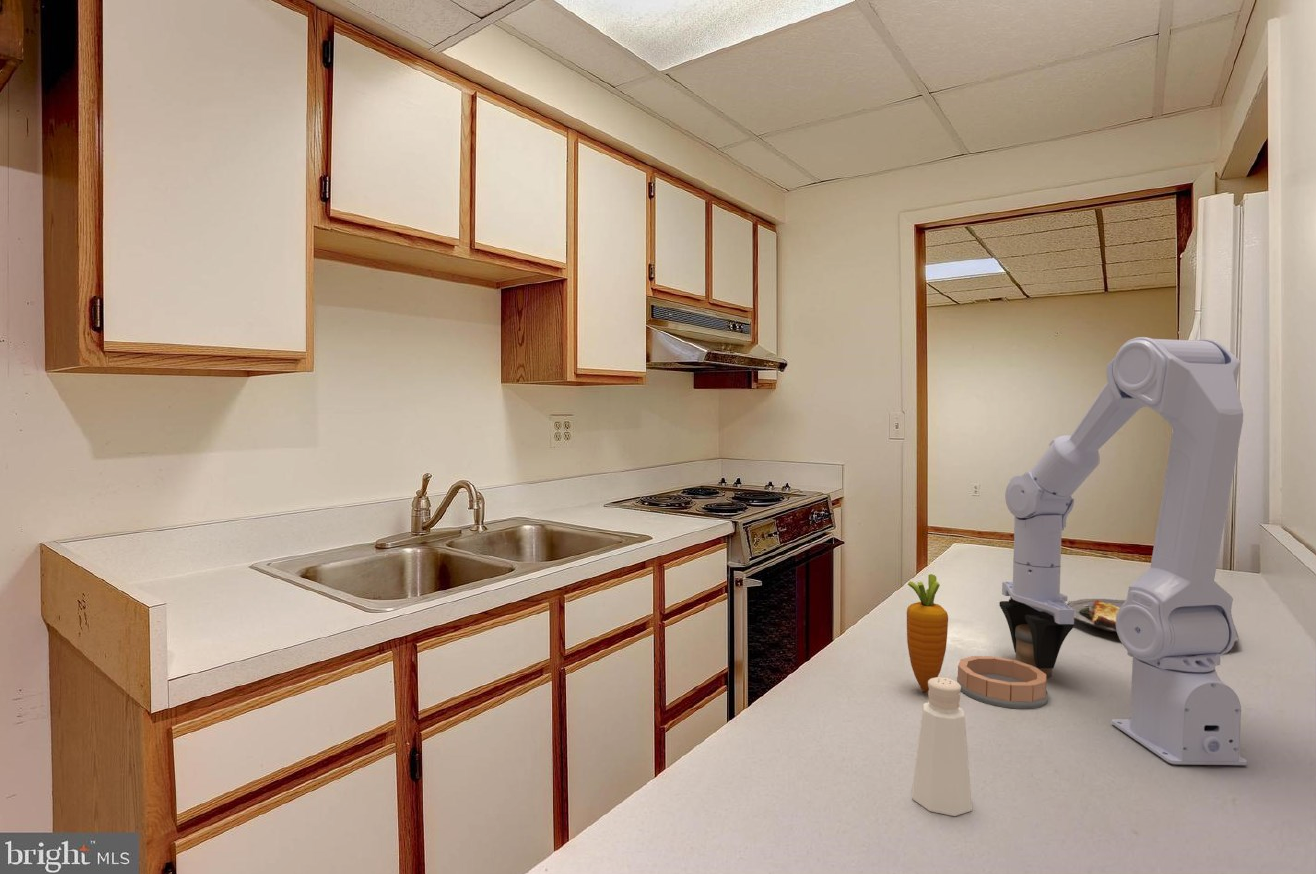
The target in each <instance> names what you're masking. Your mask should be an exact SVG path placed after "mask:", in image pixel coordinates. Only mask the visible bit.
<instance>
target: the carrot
mask: <svg viewBox="0 0 1316 874" xmlns="http://www.w3.org/2000/svg"><path fill="white" fill-rule="evenodd" d="M927 582H928V583H927V585H928V588H925V585H924V584H923V581H917V582H916V583H917V584H916V583H915V582H914V581H911V580H910V581H909V582H908V583H907V585H908V586H909V587H910V588H911V589H913V591H914V592H915V593H916V595H917V596H918V598H919V601H917V602H914V603H912V604H909V605H908V606H907V609H906V641H907V642H906V643H907V649H908V650H907V651H908V656H909V661H910V665H911V669H912V672H913V675H914V677H915V679H916V681H917V684H918V686H919V688H920V689H921V690H922V692H923V693H929V692H928V691H929V687H928V681H929V680H930V679H931V678H936V677H939V675H940V673H941V670H942V668H943V663H944V661H945V660H944V659H945V655H946V650H947V643H948V628H949V615H948V612H947V610H945V608H944V607H942V606H941V605H940V604H938V603H934V602H935V596H936V594H937V592H938V590H939V588H940V582H938V581H937V576H936V574H934V573H930V574H928V581H927Z"/></svg>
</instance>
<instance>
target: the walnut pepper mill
mask: <svg viewBox="0 0 1316 874" xmlns="http://www.w3.org/2000/svg"><path fill="white" fill-rule="evenodd" d="M1015 637H1016V653H1015V660H1017V661H1020V662H1023V663H1026V664H1029V665H1032V666H1034V667H1036V665H1035V660H1034V651H1033V640H1032V635H1031V631H1030V628H1029V625H1028V624H1021V625H1018V626H1017V627H1016V628H1015ZM1036 668H1038V667H1036ZM1038 669H1039V670H1041V671H1042V672H1044V673H1045V674H1046V679H1047V678H1051V677H1052V670H1053V669H1052V668H1038Z"/></svg>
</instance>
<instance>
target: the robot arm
mask: <svg viewBox="0 0 1316 874" xmlns="http://www.w3.org/2000/svg"><path fill="white" fill-rule="evenodd" d="M1240 365H1241V361H1240V359H1239V358H1237V356H1235V355H1234V354H1233V353H1232V352H1231V351H1230V350H1229V349H1228V348H1226V346H1224V345H1223V344H1222V343H1220V342H1218V341H1215V340H1213V339H1199V340H1198V339H1197V340H1191V339H1187V340H1186V339H1170V338H1169V339H1165V338H1164V339H1163V338H1161V339H1160V338H1151V337H1146V336H1140V337H1139V336H1137V337H1134V338H1131V339H1129V340H1127V341H1126V342H1125V343H1123V344H1122V346H1120V348H1119V349H1118V350H1117V352H1116V354H1115V357H1114V358H1113V359H1112V360H1111V361H1110V362H1108V363H1107V365H1106V371H1105V372H1106V373H1105V374H1106V380H1107V381H1106V383H1105V384H1104V386H1103V387H1102V389H1101V390H1100V392H1099V393H1098V394H1097V396H1096V398H1095V399H1094V401H1093V402H1092V403H1091V405H1090V407H1089V408H1088V409H1087V411H1086V413H1085V414H1084V415H1083V418H1082V419H1081V420H1080V421H1079V423H1078V425H1077V426H1076V427H1075V428H1074V430H1073V432H1072V434H1065V435H1061V436H1057V437H1056V438H1053V439H1052V440H1051V441H1050V442H1049V444H1048V446H1049V447H1048V448H1047V449H1046V451H1045V452H1044V453H1043V455H1042V456H1041V457H1040V458H1039V460H1038V461H1037V462H1036V464H1034V465H1033V467H1032V468H1031V470H1030V471H1029V472H1028V471H1026V472H1025V473H1024V474H1022V475H1020V474H1017V475H1015V476H1012V478H1010V479H1009V483H1008V484H1007V486H1006V488H1005V503H1006V506H1007V509H1008V510H1009V512H1010V513H1011V514H1012V515H1013V516H1014V523H1013V524H1014V528H1013V529H1014V530H1013V531H1014V533H1013V566H1012V567H1013V568H1012V569H1013V570H1012V581H1002V582H1001V583H1002V586H1001V587H1002V588H1001V589H1002V590H1001V594H1002V595H1003V596H1005V597H1009V599H1008V600H1006V601H1005V600H1000V601H999V602H998V603H999V608H1000V609H1001V611H1002V612H1003V615H1004V617H1005V619H1006V622H1007V624H1008V625H1007V626H1008V628H1009V631H1010V632H1009V633H1010V637H1011V641H1012V645H1013V650H1014V653H1015V654H1016V637H1015V628H1016V627H1017V626H1018V625H1021V624H1028V625H1029V628H1030V631H1031V635H1032V640H1033V651H1034V660H1035V665H1036V667H1038V668H1052V670H1053V669H1054V667H1055V666H1056V662H1057V660H1058V657H1059V654H1060V650H1061V647H1062V645H1063V643H1064V641H1065V639H1067V637H1068V634H1070V632H1071V631H1072V630H1073V628H1074V627H1075V620H1074V609H1072V608H1070V607H1069V606H1068V605H1067V604H1068V603H1067V602H1068V595H1066V594H1063V593H1060V591H1061V567H1062V565H1061V563H1062V562H1061V560H1062V557H1061V556H1062V535H1063V533H1062V532H1063V531H1064V530H1065V528H1067V519H1068V516H1069V515H1070V513H1071V512H1072V510H1073V507H1074V503H1075V499H1074V498H1072V495H1073V494H1074V493H1075V492H1076V491H1077V490H1078V489H1079V487H1080V486H1081V485H1082V484H1083V483H1084V482H1085V480H1086V479H1088V477H1089V476H1090V475H1091V474H1092V473H1093V472H1094V470H1095V469H1096V468H1098V466H1100V463H1101V458H1100V452H1099V450H1100V449H1101V448H1102V447H1103V446H1104V445H1105V444H1106V443H1107V442H1108V441H1109V440H1110V439H1111V438H1112V437H1113V436H1114V435H1115V434H1116V433H1117V432H1118V431H1119V430H1120V429H1121V428H1122V427H1123V426H1124V425H1126V423H1127V422H1128V421H1129V420H1130V419H1132V417H1134V415H1135V414H1136V413H1137V412H1138V411H1140V410H1141V409H1142V408H1146V407H1148V408H1149V409H1151V410H1153V411H1155V412H1156V413H1158V414H1159V415H1160V416H1161V417H1162V418H1163V419H1164V420H1165V421H1166V422H1167V423H1168V424H1169V425H1170V426H1171V428H1172V434H1171V438H1170V439H1171V440H1170V446H1169V452H1168V458H1167V463H1166V470H1165V475H1164V481H1163V482H1164V483H1163V487H1162V495H1161V501H1160V506H1159V512H1158V519H1157V523H1156V524H1157V526H1156V530H1155V536H1154V543H1153V550H1152V555H1151V561H1150V567H1149V568H1148V569H1147V570H1146V571H1145V572H1144V573H1143V574H1142V575H1141V576H1139V577H1138V578H1136V579H1135V580H1134V581H1133V582H1132V583H1131V584H1130V585H1129V586H1128V590H1127V595H1126V599H1125V600H1126V601H1125V602H1124V604H1123V605H1122V606H1121V607H1120V608H1119V610H1118V612H1117V615H1116V630H1117V632H1116V633H1117V637H1118V639H1119V641H1120V642H1121V644H1122V646H1123V647H1124V649H1125V650H1126V651H1127V652H1126V653H1127V656H1129V657H1130V658H1131V657H1132V661H1131V664H1132V665H1131V690H1130V692H1131V694H1130V717H1129V718H1130V719H1128V718H1127V719H1126V718H1123V719H1122V718H1119V719H1118V718H1113V719H1111V722H1110V723H1111V725H1113V726H1114V727H1116V728H1118V729H1119V730H1121V732H1123V733H1125V734H1126V735H1128V736H1129V737H1131V738H1132V739H1134V740H1135V741H1136V742H1138V743H1140V745H1142V746H1143V747H1145V748H1146V749H1148V750H1149V751H1151V752H1152V753H1154V754H1155V755H1156V756H1158V757H1160V758H1161V759H1162V760H1164V761H1165V762H1167V763H1169V764H1170V765H1171V764H1172V765H1190V766H1191V765H1193V766H1195V765H1197V766H1199V765H1200V766H1202V765H1203V766H1204V765H1205V766H1206V765H1207V766H1213V765H1214V766H1247V765H1248V759H1245V758H1244V757H1243V756H1241V755H1240V746H1241V745H1240V743H1241V718H1242V705H1241V702H1240V699H1239V697H1238V695H1237V693H1236V692H1235V690H1234V689H1232V688H1231V686H1228V685H1227V684H1226V683H1225V682H1223V681H1222V680H1221V678H1220V676H1219V675H1218V673H1217V670H1216V666H1217V667H1218V666H1221V657H1222V656H1223V655H1226V654H1227V653H1228V652H1229V651H1230V650H1232V649H1233V647H1234V645H1235V643H1234V642H1235V638H1236V631H1237V629H1236V630H1235V627H1236V625H1235V622H1234V619H1233V615H1232V608H1233V600H1234V598H1233V596H1232V595H1231V594H1230V593H1228V591H1227V590H1225V589H1224V587H1221V585H1219V584H1218V583H1217V582H1216V581H1215V578H1216V573H1217V566H1218V562H1219V561H1218V560H1219V556H1220V549H1221V545H1222V539H1223V534H1224V527H1225V524H1226V523H1225V522H1226V519H1227V518H1226V516H1227V511H1228V507H1229V506H1228V505H1229V501H1230V496H1231V489H1232V483H1233V478H1234V473H1235V467H1236V462H1237V456H1238V450H1239V445H1240V439H1241V434H1242V428H1243V422H1244V410H1243V405H1242V402H1241V398H1240V395H1239V390H1238V388H1237V383H1238V377H1239V371H1240Z"/></svg>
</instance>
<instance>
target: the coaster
mask: <svg viewBox="0 0 1316 874" xmlns="http://www.w3.org/2000/svg"><path fill="white" fill-rule="evenodd" d="M956 682H958V683H959V684H960V686H961V691H960V693H962V694H963V695H965V696H968V697H969V698H971V699H972V700H973V699H974V700H976V701H979V702H981V703H985V704H988V705H992V706H995V707H996V706H997V707H1001V708H1009V709H1018V710H1028V709H1029V710H1030V709H1036V708H1041V707H1044V706H1045V705H1046V704H1047V703H1048V699H1049V698H1048V695H1049V694H1048V691H1047V678H1046V674H1045V673H1044V672H1042V671H1041V670H1039V669H1038V668H1036V667H1034V666H1032V665H1029V664H1026V663H1023V662H1020V661H1017V660H1016V659H1012V658H1005V657H999V656H995V655H994V656H992V655H974V656H973V655H972V656H968V657H964V658H961V659H960V660H959V662H958V665H957V677H956Z"/></svg>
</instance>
